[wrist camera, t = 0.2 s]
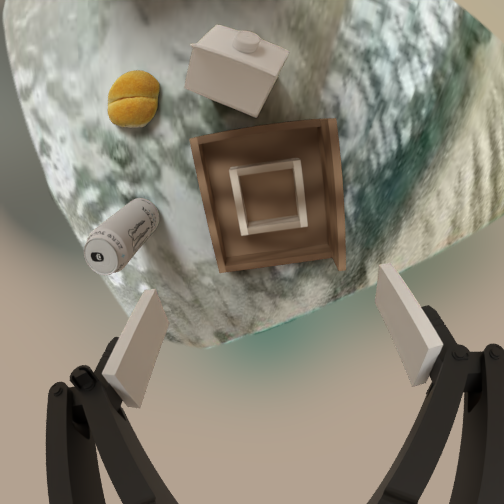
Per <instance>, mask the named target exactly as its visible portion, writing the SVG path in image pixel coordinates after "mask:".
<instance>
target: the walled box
mask: <svg viewBox="0 0 504 504" xmlns="http://www.w3.org/2000/svg"><path fill="white" fill-rule="evenodd" d="M189 140H190V144H191V149H192V154H193V159H194V164H195V169H196V173H197V178H198V183H199V187H200V192H201V196H202V201H203V205H204V210H205V214H206V218H207V223H208V227H209V231H210V236H211V240H212V244H213V248H214V252H215V256H216V260H217V264H218V269H219V273H224V272H231V271H239V270H247V269H254V268H262V267H269V266H277V265H284V264H291V263H298V262H305V261H313V260H320V259H327V258H333V260H334V262H335V264H336V266H337V268H338V271H343V270H346V246H345V214H344V195H343V181H342V168H341V157H340V147H339V138H338V129H337V121H336V118H329V119H311V120H300V121H291V122H282V123H274V124H266V125H259V126H253V127H246V128H240V129H235V130H229V131H223V132H218V133H213V134H208V135H203V136H199V137H194V138H191V139H189Z"/></svg>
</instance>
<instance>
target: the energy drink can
mask: <svg viewBox="0 0 504 504" xmlns="http://www.w3.org/2000/svg"><path fill="white" fill-rule="evenodd" d="M158 224H159V212H158V210H157V208H156V206H155V205H154V204H153V203H152V202H150V201H149V200H147V199H143V198H138V199H134V200H132V201H131V202H130V203H128V204H127V205H125V206H124V207H123V208H121V209H120V210H119V211H117V212H116V213H115V214H114V215H112V216H111V217H110V218H108V219H107V220H106V221H104V222H103V223H102V224H101V225H99V226H98V227H97V228H96V229H94V230H93V231H92V232H91V233H90V234H89V236H88V238H87V243H86V244H85V247H84V257H85V260H86V262H87V264H88V265H89V267H90V268H91V269H92V270H93V271H95V272H96V273H98V274H100V275H110V274H112V273H115V272H119V271H120V270H122V269H123V268H124V267H125V266H126V265H127V263H128V262H129V261H130V260H131V258H132V257H133V256H134V255H135V253H136V252H137V251H138V250H139V248H140V247H141V246H142V245H143V243H144V242H145V241H146V240H147V239H148V237H149V236H150V235H151V234H152V233H153V232H154V230H155V229H156V228H157V226H158Z"/></svg>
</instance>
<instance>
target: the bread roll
mask: <svg viewBox="0 0 504 504" xmlns="http://www.w3.org/2000/svg"><path fill="white" fill-rule="evenodd" d="M158 94H159V82H158V81H157V80H156V79H155V78H154V77H153V76H152V75H151V74H149V73H147V72H144V71H140V70H136V71H130V72H127V73H125V74H123V75H122V76H120V77H119V78H118V79H117V80H116V81H115V83H114V84H113V86H112V87H111V89H110V91H109V95H108V115H109V118H110V120H111V122H112V123H113V124H116V125H118V126H120V127H127V128H137V127H144V126H145V125H146V124H147V123H148V122H149V121H151V119H152V118H153V117H154V115H155V113H156V110H157V105H158Z"/></svg>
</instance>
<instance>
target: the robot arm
mask: <svg viewBox="0 0 504 504" xmlns="http://www.w3.org/2000/svg"><path fill="white" fill-rule="evenodd" d="M375 303H376V305H377V307H378V309H379V312H380V314H381V316H382V318H383V320H384V322H385V324H386V326H387V329H388V331H389V333H390V335H391V337H392V340H393V342H394V344H395V346H396V349H397V351H398V353H399V356H400V358H401V360H402V363H403V365H404V367H405V370H406V372H407V375H408V377H409V380H410V382H411V385H412V387H413V386H417V385H420V384H424V383H426V381H427V379H428V377H429V376H430V378H431V380H432V383H431V385H430V387H429V389H428V390H427V393H426V394H427V395H426V398H425V400H424V402H423V405H422V407H421V410H420V412H419V414H418V416H417V419H416V420H415V423H414V425H413V427H412V429H411V431H410V433H409V435H408V437H407V439H406V441H405V443H404V445H403V447H402V448H401V450H400V452H399V454H398V456H397V458H396V459H395V461H394V463H393V465H392V466H391V468H390V470H389V471H388V473H387V475H386V476H385V478H384V479H383V481H382V482H381V484H380V486H379V487H378V489H377V490H376V492H375V493H374V494H373V496H372V497H371V499H370V500H369V502H368V503H367V504H418V500H419V498H420V497H421V495H422V493H423V491H424V489H425V487H426V485H427V484H428V482H429V480H430V478H431V475H432V474H433V471H434V469H435V467H436V465H437V463H438V461H439V458H440V456H441V454H442V451H443V449H444V447H445V444H446V442H447V439H448V436H449V434H450V431H451V428H452V425H453V423H454V420H455V417H456V414H457V411H458V408H459V404H460V401H461V398H462V394H463V392H464V393H465V394H464V414H463V428H462V439H461V446H460V453H459V460H458V466H457V472H456V476H455V482H454V486H453V490H452V495H451V499H450V502H449V504H504V349H503V348H502V347H501V346H499V345H497V344H489V345H487V346H486V348H485V349H484V351H483V352H470V351H469V350H468V349H467V348H466V347H465V346H463V345H459V344H457V343H456V341H455V340H454V338H453V336H452V335H451V333H450V332H449V330H448V328H447V327H446V325H444V322H443V321H442V319H441V318H440V316H439V315H438V313H437V311H436V310H434V309H433V308H432V307H430V306H429V305H428V306H424V307H420V305H419V303H418V302H417V300H416V299H415V297H414V296H413V294H412V293H411V291H410V290H409V288H408V287H407V285H406V284H405V282H404V281H403V279H402V278H401V276H400V275H399V273H398V272H397V271H396V269H395V268H394V266H393V265H392V263H386V264H379V272H378V281H377V290H376V298H375ZM168 326H169V321H168V319H167V316H166V314H165V311H164V309H163V306H162V304H161V301H160V299H159V296H158V294H157V291H156V289H150V290H144V292H143V294H142V296H141V298H140V299H139V301H138V303H137V305H136V307H135V309H134V310H133V312H132V314H131V316H130V318H129V320H128V322H127V324H126V326H125V328H124V330H123V331H122V334H121V335H120V337H114V338H113V339H112V341H110V343H109V344H108V346H107V348H106V350H105V352H104V354H103V355H102V358H101V359H100V362H99V363H98V365H97V367H96V370H95V371H94V372H93V371H92V370H91V368H90V367H89V366H86V365H82V366H79V367H77V368H76V369H74V370H73V372H72V373H71V375H70V381H71V382H72V384H73V385H74V386H75V387H68V386H67V385H66V384H65V383H64V382H57V383H55V384H54V385H53V386H52V387H51V388H50V390H49V393H48V405H47V420H46V421H47V422H46V471H47V484H48V495H49V504H106V503H105V499H104V494H103V489H102V484H101V479H100V473H99V468H98V460H97V453H96V446H97V449H98V451H99V454H100V456H101V459H102V461H103V463H104V466H105V468H106V470H107V472H108V475H109V477H110V479H111V481H112V483H113V485H114V487H115V489H116V491H117V493H118V495H119V497H120V499H121V501H122V503H123V504H178V502H177V501H176V500H175V498H174V497H173V495H172V494H171V493H170V491H169V490H168V488H167V487H166V485H165V484H164V482H163V480H162V479H161V477H160V476H159V474H158V473H157V471H156V470H155V468H154V466H153V464H152V463H151V461H150V459H149V458H148V456H147V454H146V453H145V451H144V449H143V448H142V446H141V444H140V442H139V440H138V438H137V436H136V434H135V432H134V431H133V429H132V427H131V425H130V423H129V421H128V419H127V416H126V414H125V412H124V410H123V408H121V403H122V401H124V403H125V404H126V405H127V406H128V407H135V408H140V407H141V404H142V401H143V398H144V395H145V392H146V389H147V386H148V382H149V380H150V377H151V374H152V371H153V368H154V365H155V362H156V359H157V356H158V354H159V351H160V348H161V345H162V342H163V340H164V337H165V334H166V331H167V329H168ZM95 443H96V446H95Z"/></svg>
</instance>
